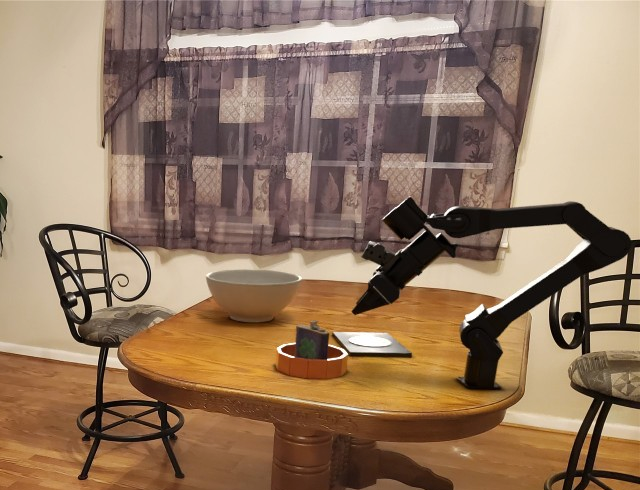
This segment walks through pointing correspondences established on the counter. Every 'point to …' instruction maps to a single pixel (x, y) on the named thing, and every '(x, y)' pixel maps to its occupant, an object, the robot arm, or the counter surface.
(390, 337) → the hob plate
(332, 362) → the orange round tray
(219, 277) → the decorative bowl
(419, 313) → the counter surface
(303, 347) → the flask
